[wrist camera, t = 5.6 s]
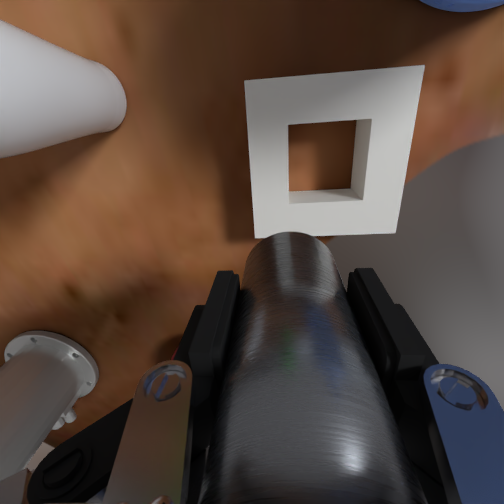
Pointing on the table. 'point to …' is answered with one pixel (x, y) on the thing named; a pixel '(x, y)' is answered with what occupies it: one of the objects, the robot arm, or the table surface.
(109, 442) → the robot arm
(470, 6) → the water jug
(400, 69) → the socket block
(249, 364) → the metal peg
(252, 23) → the table surface
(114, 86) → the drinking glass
